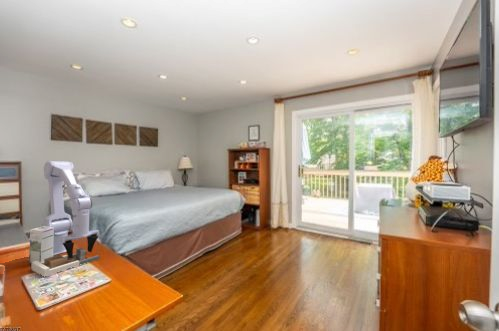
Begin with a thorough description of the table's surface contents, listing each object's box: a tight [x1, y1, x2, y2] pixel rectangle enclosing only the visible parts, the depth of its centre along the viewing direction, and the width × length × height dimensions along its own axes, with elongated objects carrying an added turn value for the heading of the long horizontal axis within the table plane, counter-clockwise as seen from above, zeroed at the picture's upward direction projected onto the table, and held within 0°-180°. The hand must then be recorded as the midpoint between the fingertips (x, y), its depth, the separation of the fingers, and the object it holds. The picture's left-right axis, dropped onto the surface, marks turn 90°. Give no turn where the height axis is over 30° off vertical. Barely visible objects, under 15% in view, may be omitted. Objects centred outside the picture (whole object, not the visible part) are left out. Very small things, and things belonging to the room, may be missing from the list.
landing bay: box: [66, 249, 100, 266], centre depth 101 cm, size 12×8×2 cm, turn 62°
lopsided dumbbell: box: [44, 247, 86, 269], centre depth 95 cm, size 6×12×5 cm, turn 152°
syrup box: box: [29, 226, 54, 264], centre depth 98 cm, size 6×6×14 cm
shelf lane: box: [30, 254, 79, 278], centre depth 92 cm, size 12×12×3 cm
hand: (80, 254), depth 100 cm, fingers open, 7 cm apart
